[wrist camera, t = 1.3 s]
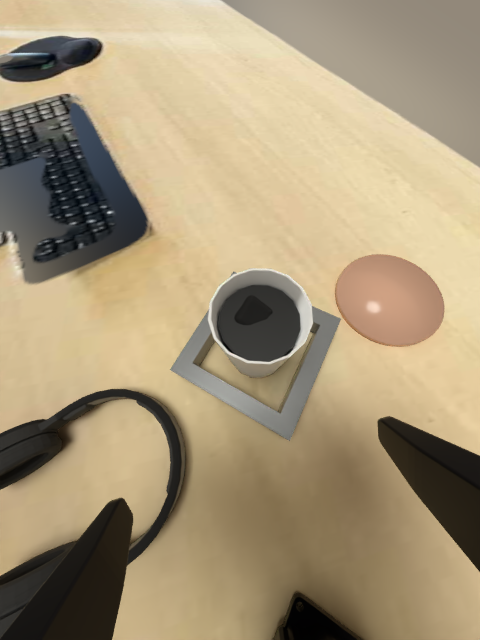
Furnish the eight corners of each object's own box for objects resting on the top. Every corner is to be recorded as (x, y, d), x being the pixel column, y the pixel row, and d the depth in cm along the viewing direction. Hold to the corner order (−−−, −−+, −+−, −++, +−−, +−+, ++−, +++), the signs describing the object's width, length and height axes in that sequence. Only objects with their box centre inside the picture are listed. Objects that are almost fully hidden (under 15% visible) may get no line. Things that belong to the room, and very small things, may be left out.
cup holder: (332, 327, 24) (340, 318, 21) (285, 437, 20) (289, 441, 18) (235, 283, 26) (233, 271, 24) (178, 373, 23) (169, 369, 20)
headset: (-235, 505, 12) (127, 346, 16) (-43, 470, 20) (161, 371, 25) (-341, 939, 7) (199, 551, 12) (-37, 662, 16) (210, 497, 20)
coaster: (449, 279, 25) (453, 276, 25) (427, 365, 22) (431, 364, 21) (353, 245, 28) (355, 241, 27) (320, 317, 24) (322, 315, 24)
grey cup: (212, 356, 23) (186, 323, 14) (249, 309, 25) (248, 252, 16) (264, 396, 22) (274, 388, 12) (300, 343, 23) (333, 301, 14)
